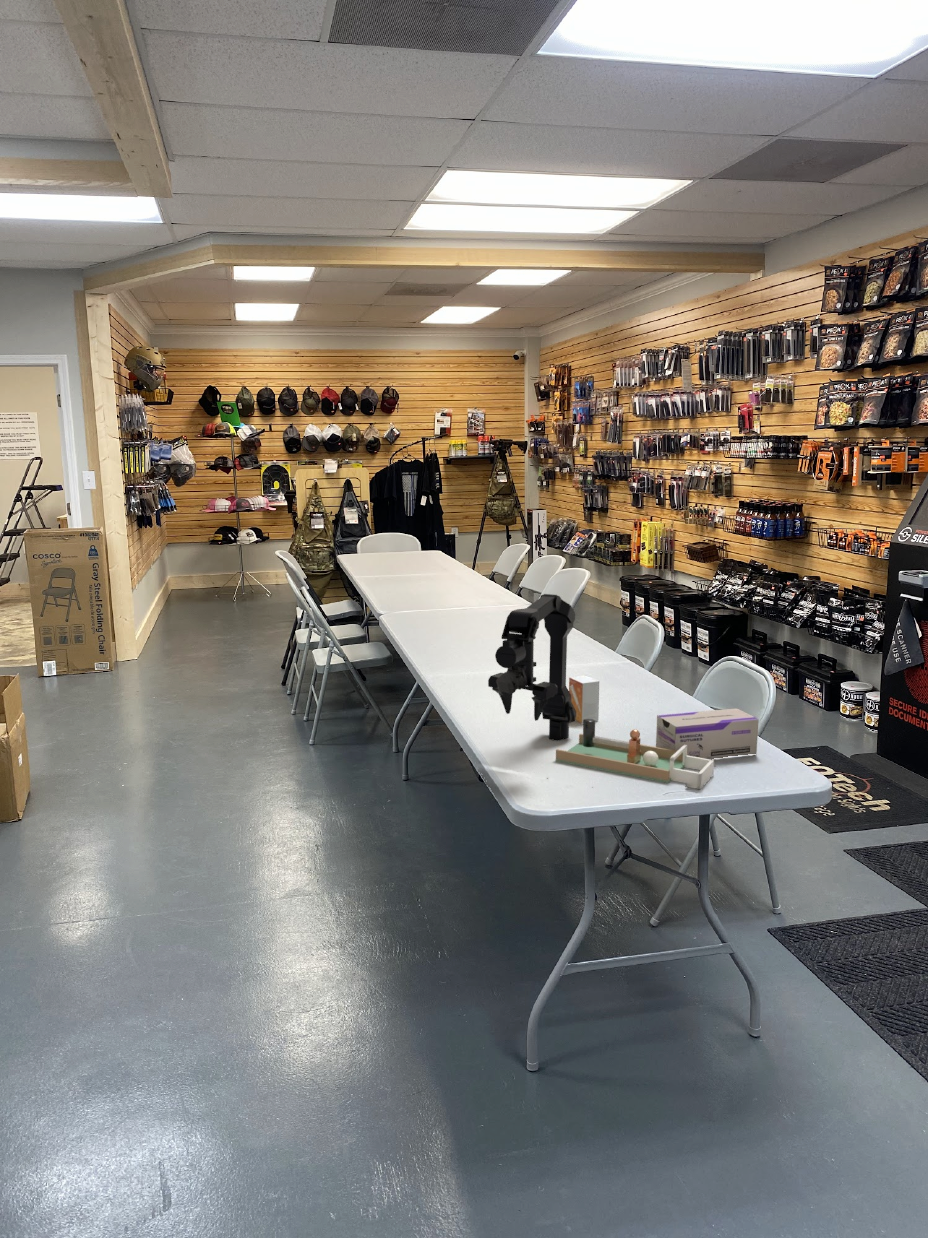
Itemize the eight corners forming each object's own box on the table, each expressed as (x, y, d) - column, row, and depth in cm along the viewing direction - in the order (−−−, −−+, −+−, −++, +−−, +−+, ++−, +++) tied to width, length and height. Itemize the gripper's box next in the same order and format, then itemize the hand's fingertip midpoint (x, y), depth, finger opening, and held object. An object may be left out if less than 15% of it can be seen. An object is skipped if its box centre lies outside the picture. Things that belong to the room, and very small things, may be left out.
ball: (645, 762, 235) (646, 747, 234) (660, 764, 233) (660, 750, 232) (640, 766, 232) (640, 752, 231) (655, 769, 229) (655, 754, 229)
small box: (567, 717, 280) (568, 677, 277) (584, 714, 282) (585, 674, 280) (581, 724, 272) (582, 683, 270) (599, 721, 275) (600, 680, 272)
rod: (586, 749, 244) (587, 717, 242) (642, 759, 236) (643, 726, 234) (579, 754, 240) (580, 722, 238) (635, 765, 232) (636, 731, 230)
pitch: (580, 747, 251) (580, 733, 250) (687, 767, 235) (688, 752, 235) (555, 764, 238) (555, 750, 237) (667, 786, 222) (668, 771, 221)
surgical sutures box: (674, 765, 238) (675, 726, 236) (655, 752, 248) (657, 715, 246) (756, 756, 244) (758, 719, 242) (734, 744, 254) (737, 708, 252)
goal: (683, 769, 234) (684, 744, 232) (713, 775, 230) (714, 749, 228) (668, 783, 224) (670, 757, 223) (700, 789, 220) (701, 763, 219)
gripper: (474, 659, 229) (475, 717, 232) (533, 671, 217) (533, 732, 220) (501, 651, 237) (501, 707, 241) (559, 662, 226) (558, 721, 229)
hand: (522, 716), depth 232 cm, fingers open, 9 cm apart
